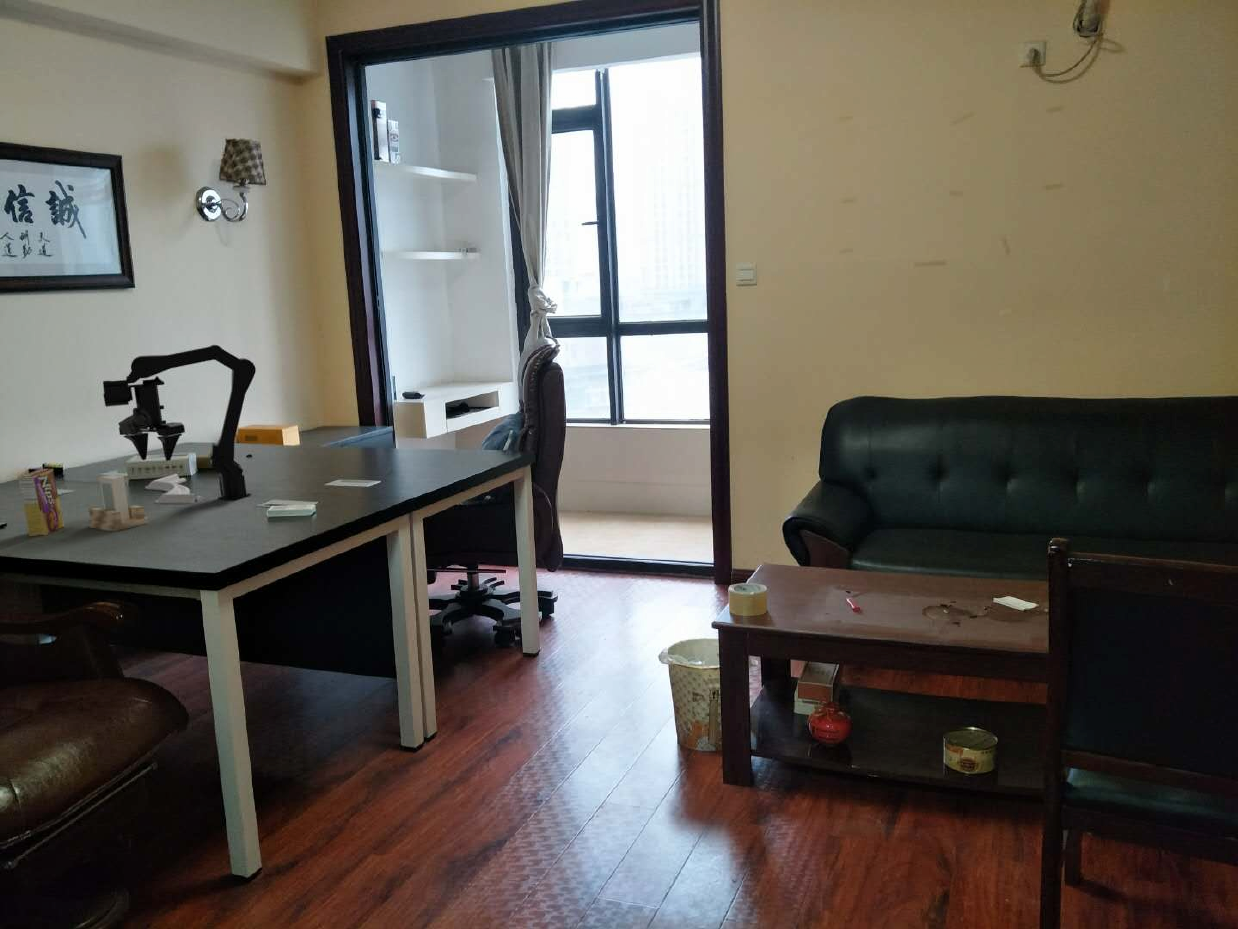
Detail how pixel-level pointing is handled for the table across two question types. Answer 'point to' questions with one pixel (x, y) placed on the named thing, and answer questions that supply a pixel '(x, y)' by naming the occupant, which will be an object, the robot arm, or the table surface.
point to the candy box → (41, 502)
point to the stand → (116, 518)
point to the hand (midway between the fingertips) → (156, 460)
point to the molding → (173, 490)
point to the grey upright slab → (114, 495)
